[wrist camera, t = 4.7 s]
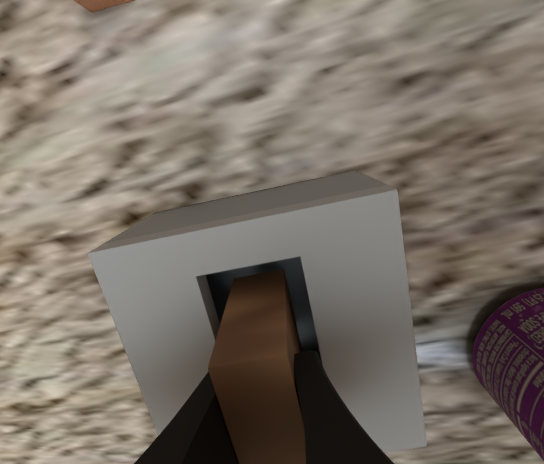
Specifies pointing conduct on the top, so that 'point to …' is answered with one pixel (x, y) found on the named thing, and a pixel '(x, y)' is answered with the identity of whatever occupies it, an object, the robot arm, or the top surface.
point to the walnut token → (259, 371)
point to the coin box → (301, 283)
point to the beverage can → (515, 363)
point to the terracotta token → (100, 4)
